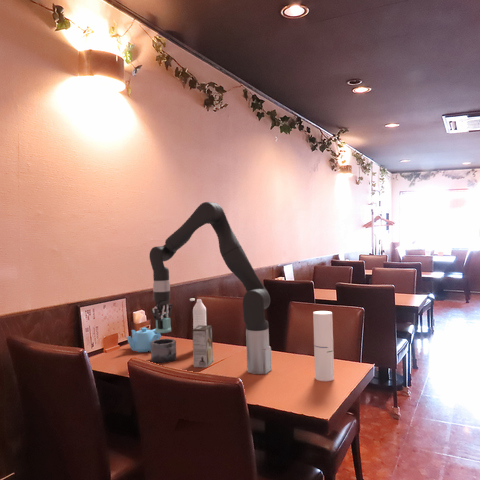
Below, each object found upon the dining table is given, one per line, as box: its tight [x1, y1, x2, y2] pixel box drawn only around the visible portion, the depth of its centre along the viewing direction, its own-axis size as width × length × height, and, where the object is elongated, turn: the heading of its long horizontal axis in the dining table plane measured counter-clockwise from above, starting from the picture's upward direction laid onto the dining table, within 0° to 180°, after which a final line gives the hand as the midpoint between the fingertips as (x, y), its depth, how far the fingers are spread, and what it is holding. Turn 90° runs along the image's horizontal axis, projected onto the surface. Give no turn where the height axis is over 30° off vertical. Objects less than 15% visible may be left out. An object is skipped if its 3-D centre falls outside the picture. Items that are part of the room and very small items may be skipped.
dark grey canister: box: [150, 338, 177, 364], centre depth 192 cm, size 11×11×8 cm
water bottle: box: [189, 297, 208, 330], centre depth 206 cm, size 9×6×25 cm
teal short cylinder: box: [154, 317, 172, 334], centre depth 192 cm, size 7×7×6 cm
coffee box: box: [191, 324, 214, 368], centre depth 183 cm, size 9×6×16 cm
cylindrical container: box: [312, 310, 335, 382], centre depth 161 cm, size 7×7×25 cm
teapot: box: [126, 326, 162, 353], centre depth 211 cm, size 15×15×11 cm
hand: (162, 327), depth 192 cm, fingers closed on teal short cylinder, 3 cm apart
